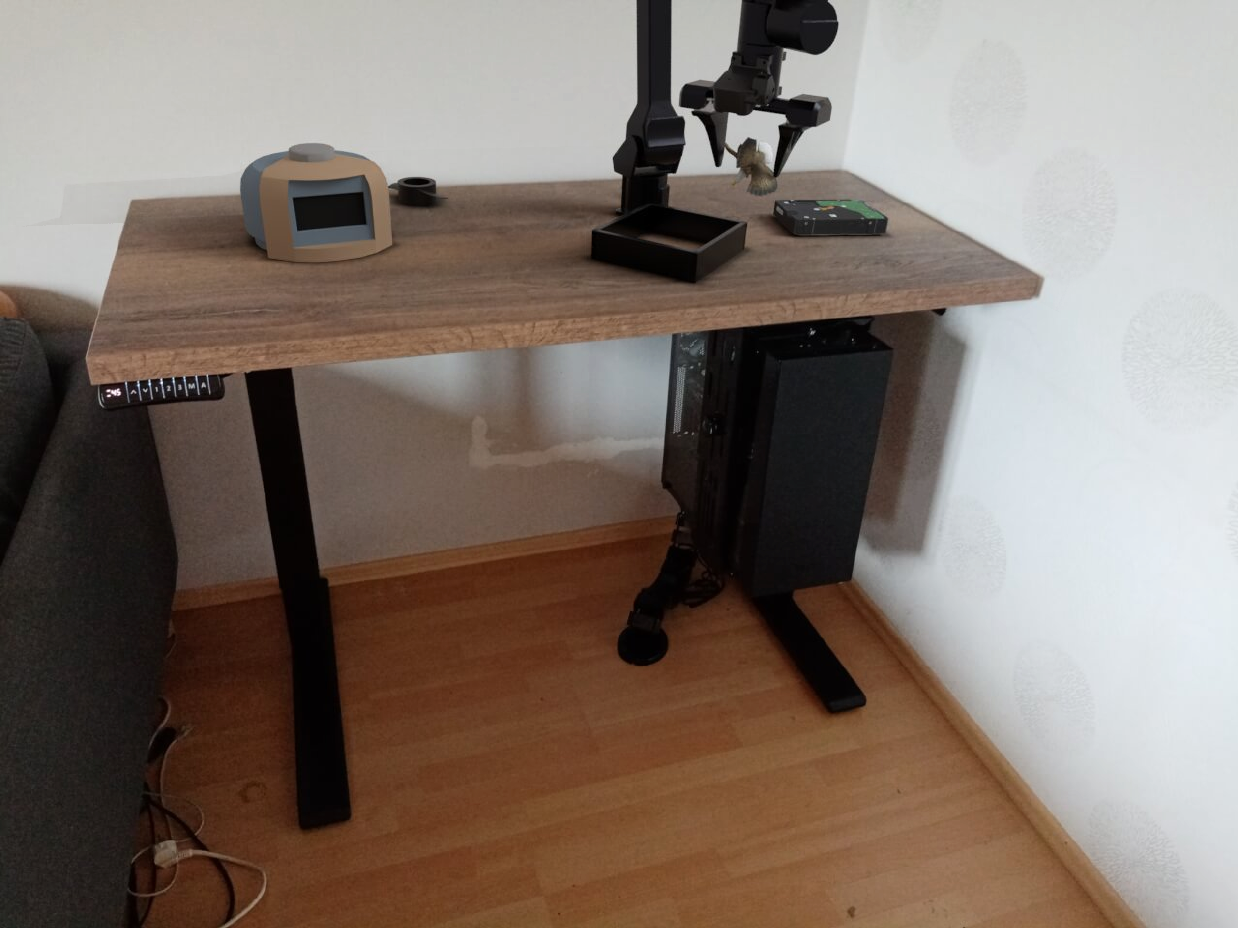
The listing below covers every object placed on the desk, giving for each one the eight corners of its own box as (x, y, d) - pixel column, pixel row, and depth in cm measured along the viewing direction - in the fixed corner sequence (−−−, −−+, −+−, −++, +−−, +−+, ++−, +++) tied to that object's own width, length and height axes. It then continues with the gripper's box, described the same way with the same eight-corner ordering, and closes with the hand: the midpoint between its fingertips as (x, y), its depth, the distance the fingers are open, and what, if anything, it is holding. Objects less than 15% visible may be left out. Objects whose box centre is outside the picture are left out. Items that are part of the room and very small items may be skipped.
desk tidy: (590, 259, 132) (591, 230, 130) (646, 229, 144) (648, 202, 142) (695, 283, 126) (697, 253, 124) (744, 249, 138) (747, 222, 136)
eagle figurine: (706, 169, 131) (722, 173, 122) (736, 122, 129) (755, 123, 121) (750, 201, 133) (769, 207, 125) (781, 155, 132) (802, 158, 123)
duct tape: (434, 190, 156) (433, 172, 155) (450, 208, 149) (450, 189, 147) (385, 193, 154) (384, 175, 152) (400, 211, 146) (399, 192, 144)
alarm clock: (262, 269, 122) (248, 171, 116) (235, 223, 137) (222, 135, 131) (411, 252, 130) (405, 160, 124) (370, 211, 145) (363, 127, 139)
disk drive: (794, 238, 145) (887, 235, 147) (796, 219, 143) (890, 217, 146) (771, 217, 153) (859, 215, 156) (773, 199, 152) (862, 197, 155)
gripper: (663, 40, 117) (654, 172, 125) (810, 59, 110) (791, 197, 118) (703, 33, 126) (692, 156, 134) (841, 49, 118) (822, 179, 126)
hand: (746, 171), depth 128 cm, fingers closed on eagle figurine, 8 cm apart
